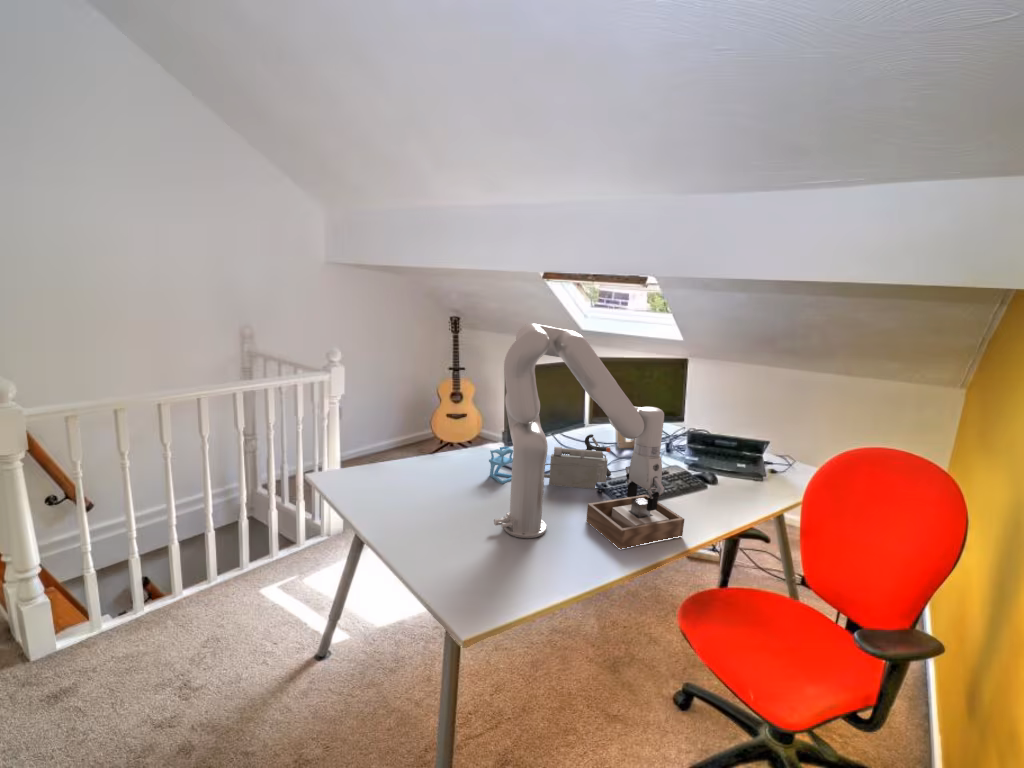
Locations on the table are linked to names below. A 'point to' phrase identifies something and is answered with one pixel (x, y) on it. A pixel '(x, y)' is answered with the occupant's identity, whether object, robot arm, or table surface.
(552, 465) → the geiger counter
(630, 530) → the walnut box
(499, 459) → the chair
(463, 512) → the table surface
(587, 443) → the hand grip strengthener
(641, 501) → the metal peg
